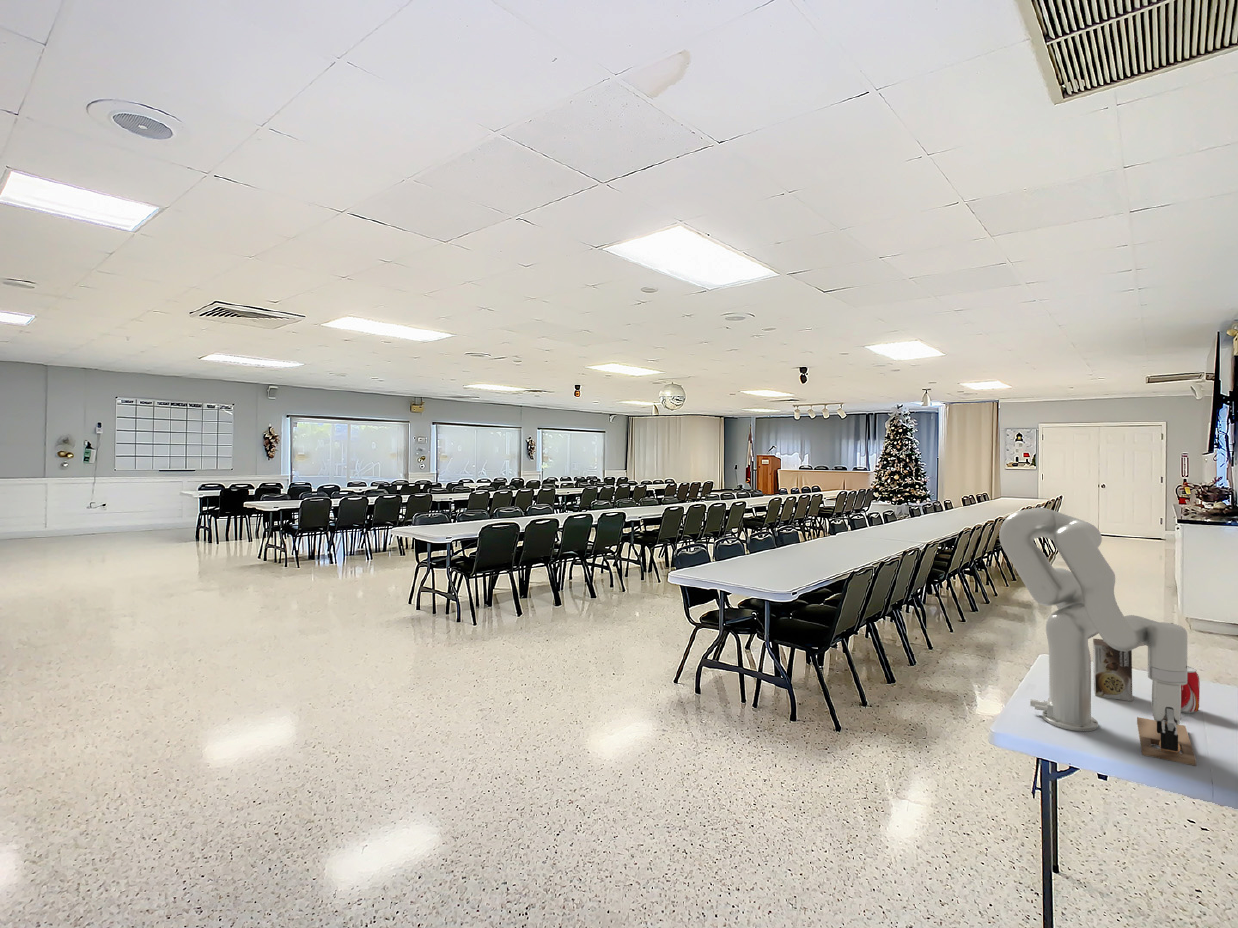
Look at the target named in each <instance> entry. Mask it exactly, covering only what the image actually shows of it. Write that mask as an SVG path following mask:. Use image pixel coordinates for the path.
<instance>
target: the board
mask: <svg viewBox="0 0 1238 928" xmlns="http://www.w3.org/2000/svg"><path fill="white" fill-rule="evenodd" d="M1136 725H1137V731H1138V737H1139V743H1140V751H1141V755H1143V756H1147V757H1152V758H1156V759H1160V760H1166V761H1170V762H1171V761H1172V762H1176V763H1181V764H1186V765H1190V766H1194V767H1195V766H1196V767H1197V759H1196V756H1195V752H1194V749H1193V747H1192V743H1191V739H1190V737H1189V734H1188V730H1187V727H1186V725H1183V724H1179V725H1177V735H1178V743H1179V745H1180V751H1181V753H1180V752H1179V753H1176V752H1171V751H1166V750H1161V748H1156V747H1152V745H1154V746H1158V747H1160V746H1159V742H1160V740H1161V734H1160V733H1158V732H1157V721H1155V720H1154V719H1150V718H1144V717H1140V716H1139V717H1138V716H1137V717H1136Z"/></svg>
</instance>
